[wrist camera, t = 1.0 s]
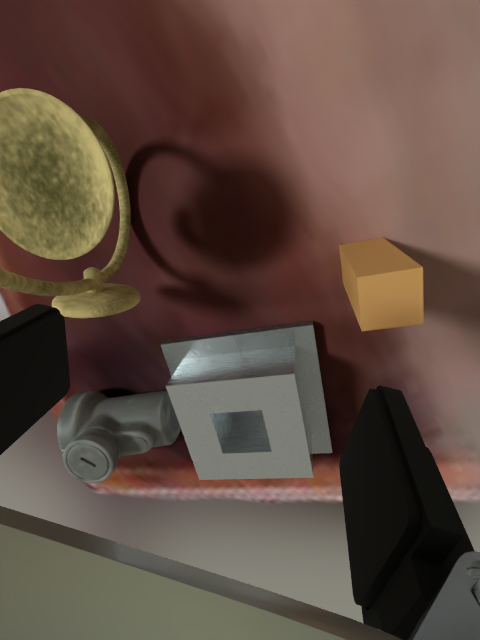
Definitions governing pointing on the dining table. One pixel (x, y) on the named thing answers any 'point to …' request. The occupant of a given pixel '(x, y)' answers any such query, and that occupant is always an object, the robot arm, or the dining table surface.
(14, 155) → the wall sconce
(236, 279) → the dining table surface
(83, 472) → the pipe fitting
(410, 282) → the orange rectangular block
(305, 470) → the square hole block
